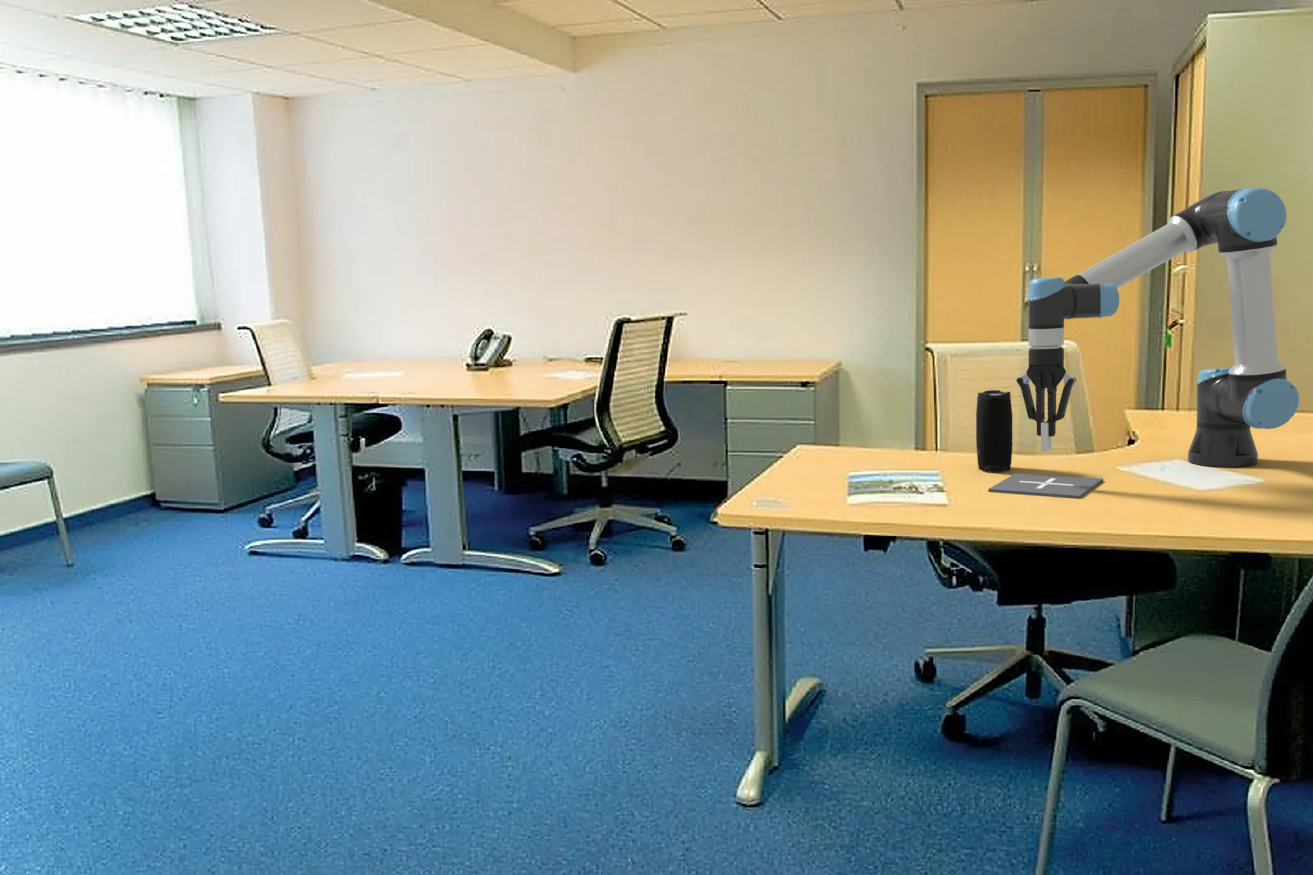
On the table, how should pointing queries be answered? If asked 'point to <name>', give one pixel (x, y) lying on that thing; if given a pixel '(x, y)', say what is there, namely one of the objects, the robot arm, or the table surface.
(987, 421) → the portable speaker
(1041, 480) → the pad
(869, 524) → the table surface
